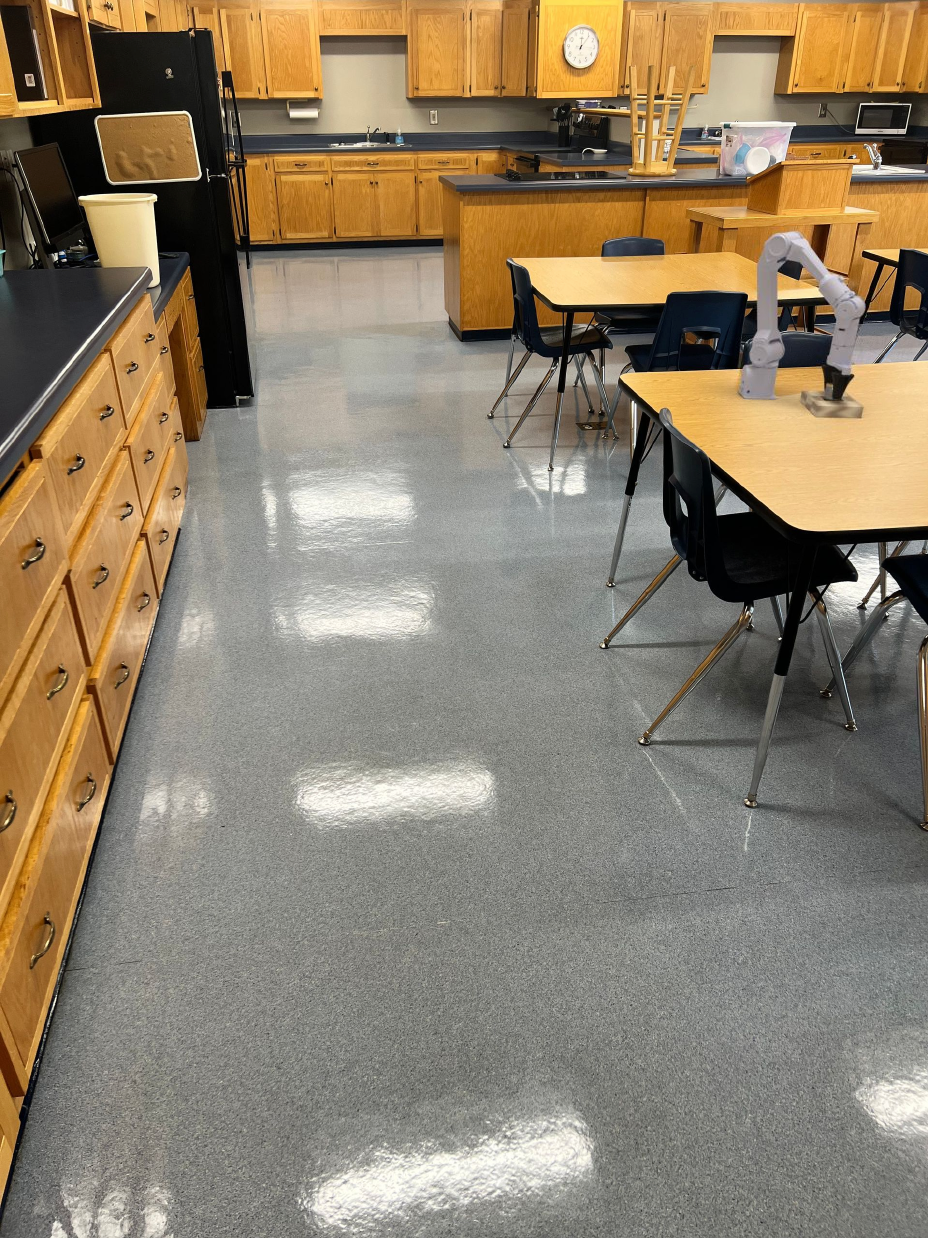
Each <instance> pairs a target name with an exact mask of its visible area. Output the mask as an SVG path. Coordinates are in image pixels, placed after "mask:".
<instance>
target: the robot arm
mask: <svg viewBox="0 0 928 1238" xmlns="http://www.w3.org/2000/svg"><path fill="white" fill-rule="evenodd" d="M787 261H792V262H797V263H800V265H802V267H803V268H804V269H805V270H806V271H807V272H808V273H809V274H810V275H811V276H812V278H814V280H815V281H817V282H818V292H819V293H820V294H821V295H822V297H823V298H824V299H825V300H826V301H827V302H828V304H829V305H830V306H831V307H832V309H834V310H833V314H834V317H835V319H836V321H835V326H834V328H833V329H834V331H833V333H832V334H833V335H832V340H831V344H830V349H829V355H827V358H826V364H821V370H822V373H823V389H824V390H823V391H825V390H826V385H827V383H829V382H833V393H832V397H833V399H841V398H842V396H843V394H844V392H846V389H847V387H848V385H850V383H851V381H852V380H854V378H855V374H854V373H851V372H852V367H851V366H854V365H855V364H856V362H855V361H853V360H852V357H853V353H854V348H855V343H856V338H857V333H858V330H859V329H858V328H859V324H860V319H861V317H862V316H863V315H864V313H865V311H866V303H865V301H864V298H863V297H861V296H859V295H856V293H855V291H854V290H853V291H852V290H851V289H850V288H849V287H848V286H847V284H846V282H844V281H845V278H844V277H843V276H841V275H840V276H839V274H835V273H833V274H831V273H830V272H829V270H828V269H827V267H826V266H825V265H824V264H823V262H822V260H821V259H820V258H819V257H818V255H817V254H816V252H815V251H814V249H812V247H811V245H810V243H809V241H808V240H807V238H804V236H803V234H802V233H801V232H799V231H797V230H791V231H788V232H778V233H774V234H772V235H771V236H770V237H769V238H768V239H767V240H766V241H765V242H764V244H763V251H762V252H761V255H760V257H759V259H758V261H757V264H756V295H757V296H756V309H757V310H756V312H757V313H756V315H757V316H756V320H757V321H756V322H757V327H756V328H757V331H756V332H755V334H754V336H753V338H752V345H751V349H750V351H749V360H750V362H751V364H744V366H743V367H742V370H741V377H740V382H739V390H738V393H739V395H740V396H741V397H742V398H743V399H745V400H753V399H754V400H777V399H778V397H777V396H776V395H775V393H774V392H775V386H776V381H777V374H778V370H779V369H778V368H779V361H780V360H781V359H782V358H783V357H784V355H785V351H786V349H785V345H784V343H783V340H782V339H783V338H782V333H781V332H780V330H779V327H778V270H779V269H780V268H781V267H782V266H783V264H785V263H786V262H787Z"/></svg>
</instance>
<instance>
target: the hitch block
mask: <svg viewBox="0 0 928 1238" xmlns="http://www.w3.org/2000/svg"><path fill="white" fill-rule="evenodd" d="M824 395H825V391H824V390H801V394H800V399H799V401H800V403H801V405H803V406H804V407H805V408H806V409H807V410H808V411H809V412H810V413H812V415H813V416H814V417H815V418H842V419H843V418H845V419H846V418H847V419H862V418H863V417H862V416H863V411H864V408H865V407H864V406H863V405H862V404H861V403H859V402H858V401H857V400H856V399H855V398H854V397H852V396H851V395H850V394H849V393H848V392H846V391H845V392H844V394H843V396H842V398H841V399H839V401H825V400H824Z"/></svg>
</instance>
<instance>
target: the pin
mask: <svg viewBox="0 0 928 1238" xmlns="http://www.w3.org/2000/svg"><path fill="white" fill-rule="evenodd" d="M832 393H833V382H829V383H827V385H826V390H825V395H824V400H825V401H839V399H833V397H832Z"/></svg>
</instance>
